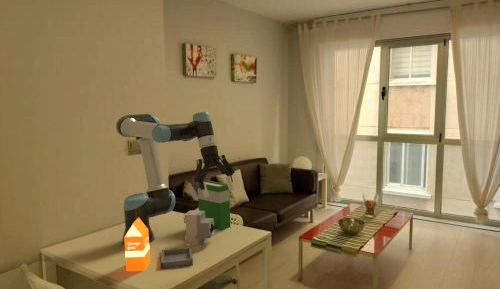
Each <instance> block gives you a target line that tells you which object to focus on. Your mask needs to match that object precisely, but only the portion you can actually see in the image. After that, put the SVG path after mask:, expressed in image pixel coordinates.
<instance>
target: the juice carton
mask: <svg viewBox="0 0 500 289" xmlns="http://www.w3.org/2000/svg"><path fill="white" fill-rule="evenodd" d="M124 242H125V245H124V252H125V253H124V255H125V256H124V257H125V266H126V272H139V271H141V272H143V271H144V272H145V271H146V269H147V268H148V266H149V264H150V263H151V253H150V252H151V250H150V243H149V233H148V228H147V227H146V226H145V225H144V223H143V222H142V221H141V220H140V218H138V219H137V220H136V221H135V222H134V223H133V225H132V226H131V228H130V229H129V231H128V232H127V234H126V236H125V237H124Z"/></svg>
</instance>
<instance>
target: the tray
mask: <svg viewBox="0 0 500 289" xmlns="http://www.w3.org/2000/svg"><path fill="white" fill-rule="evenodd" d="M160 261H161V262H160V266H161V268H160V269H163V270H164V269H171V268H180V267H187V266H193V265H194V261H193V251H192V247H191V246H187V247H180V248H169V249H168V248H167V249H162V250H161V260H160Z"/></svg>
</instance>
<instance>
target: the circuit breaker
mask: <svg viewBox="0 0 500 289" xmlns="http://www.w3.org/2000/svg"><path fill="white" fill-rule="evenodd" d="M183 221H184V222H183V223H184V224H185V231H186V234H184V243H185V244H189V245H188V246H200V245H201V246H202V245H203V244H204V243H205V242H206V241H207V239H210V238H212V236H213V235H214V234H215V230H216V229H215V228H216V226H214V218H205V211H199V210H189V211H187V212H186V213H184V216H183ZM185 244H184V245H185Z"/></svg>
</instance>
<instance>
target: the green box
mask: <svg viewBox="0 0 500 289" xmlns="http://www.w3.org/2000/svg"><path fill="white" fill-rule="evenodd" d="M205 182H206V187H207V191H208V196H209V197H204V196H203V191H202V190H201V189H200V185H199V183H197V199H198V200H197V202H198V204H197V205H198V211H205V218H214V226H216V228H215V229H214V230H217V231H220V232H222V231H224V230H227V229H229V228H231V206H230V204H231V203H230V191H229V189H228V185H227V183H223V182H217V181H212V180H205Z"/></svg>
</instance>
